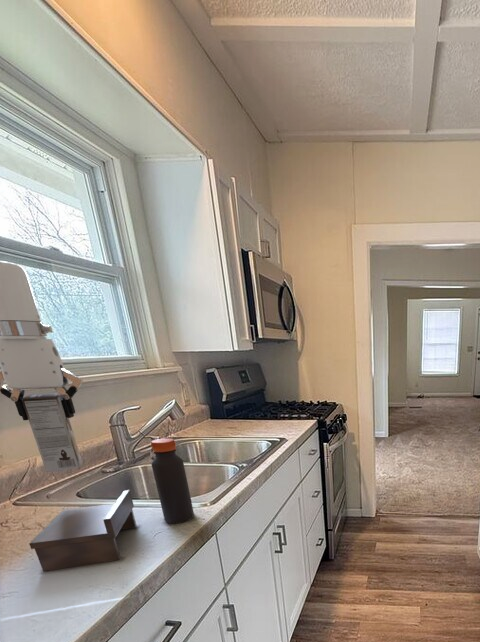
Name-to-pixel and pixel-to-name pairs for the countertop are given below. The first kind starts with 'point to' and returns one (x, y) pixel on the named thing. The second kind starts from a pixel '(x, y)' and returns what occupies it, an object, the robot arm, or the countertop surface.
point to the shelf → (84, 535)
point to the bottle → (171, 482)
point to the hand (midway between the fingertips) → (49, 417)
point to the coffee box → (52, 432)
